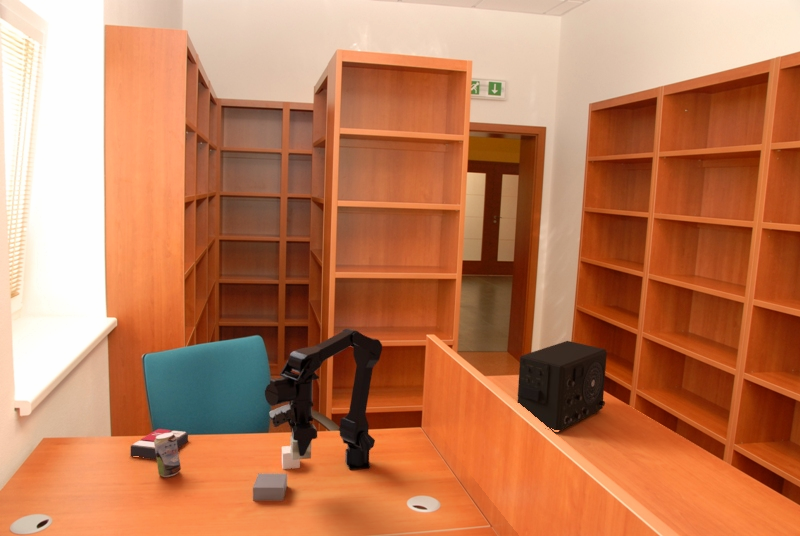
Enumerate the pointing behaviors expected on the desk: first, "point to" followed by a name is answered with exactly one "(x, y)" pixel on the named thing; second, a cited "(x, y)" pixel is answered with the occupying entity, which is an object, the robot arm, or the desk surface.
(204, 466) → the desk surface
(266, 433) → the desk surface
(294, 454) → the cube block
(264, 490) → the grey base block
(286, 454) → the off-white block
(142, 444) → the red and white box
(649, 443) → the desk surface
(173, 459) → the beverage can
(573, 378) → the vintage radio
